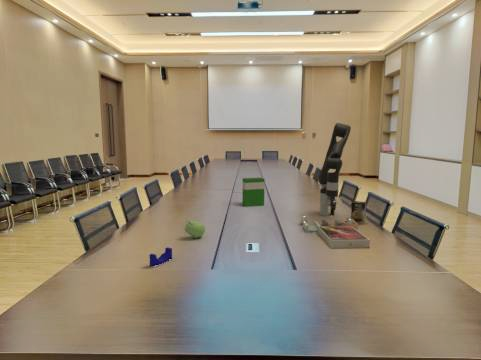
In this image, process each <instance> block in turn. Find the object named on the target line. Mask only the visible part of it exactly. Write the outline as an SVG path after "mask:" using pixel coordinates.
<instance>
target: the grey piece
mask: <svg viewBox="0 0 481 360" xmlns="http://www.w3.org/2000/svg"><path fill="white" fill-rule="evenodd" d="M328 224H329V222H328V221H327V220H326V219H321V224H320V223H319V222H318V221H317V220H316V221H314V225H309V224H308V222H307V223H306V221H303V225H302V229H303V231H304V232H305V233H317V226H328ZM334 224H335V225H336V226H352V227H353V228H354V229H356V230H357V231H358V232H360V231H362V229H360V228H359V224H357V223H356V222H355V221H354V223H353V224H346V220H341V221H340V219H334Z"/></svg>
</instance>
